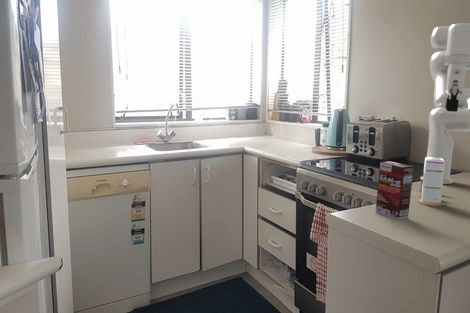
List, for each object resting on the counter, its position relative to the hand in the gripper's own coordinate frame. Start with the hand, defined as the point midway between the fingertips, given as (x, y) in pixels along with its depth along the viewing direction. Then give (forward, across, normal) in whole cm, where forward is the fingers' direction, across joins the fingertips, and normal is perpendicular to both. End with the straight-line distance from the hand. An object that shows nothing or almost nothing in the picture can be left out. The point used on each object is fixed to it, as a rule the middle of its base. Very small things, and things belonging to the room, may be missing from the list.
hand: (451, 110), depth 138 cm
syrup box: (+30, -16, +4) cm, 34 cm away
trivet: (+31, -16, +4) cm, 35 cm away
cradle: (+31, -5, +4) cm, 32 cm away
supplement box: (+30, -38, +14) cm, 50 cm away
